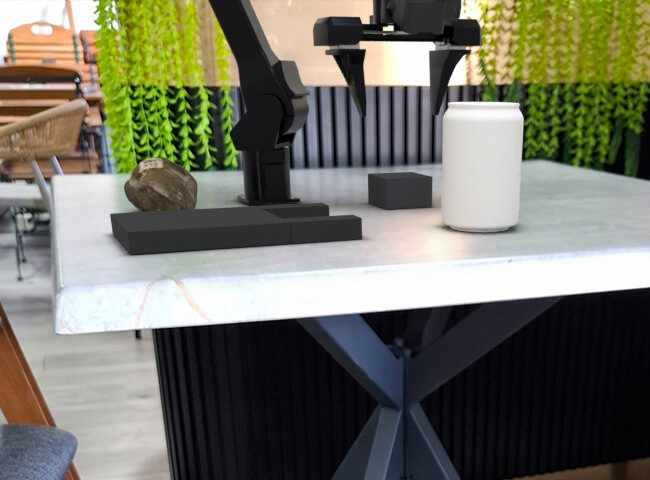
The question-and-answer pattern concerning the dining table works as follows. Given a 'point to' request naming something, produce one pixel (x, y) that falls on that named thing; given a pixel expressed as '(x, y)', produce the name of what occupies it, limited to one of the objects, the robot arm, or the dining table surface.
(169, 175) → the fossilized seashell
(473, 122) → the beverage can
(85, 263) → the dining table surface
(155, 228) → the u-shaped holder
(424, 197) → the pad
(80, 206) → the dining table surface
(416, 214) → the dining table surface
